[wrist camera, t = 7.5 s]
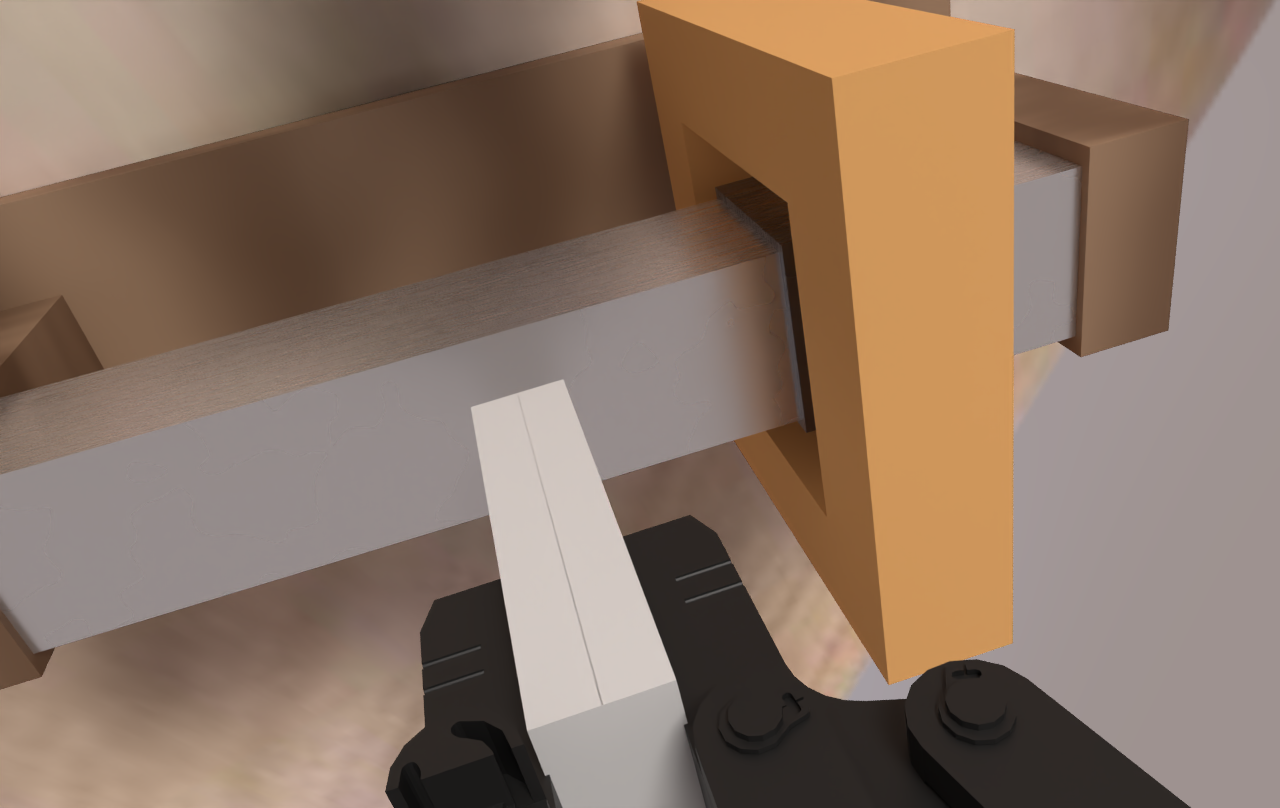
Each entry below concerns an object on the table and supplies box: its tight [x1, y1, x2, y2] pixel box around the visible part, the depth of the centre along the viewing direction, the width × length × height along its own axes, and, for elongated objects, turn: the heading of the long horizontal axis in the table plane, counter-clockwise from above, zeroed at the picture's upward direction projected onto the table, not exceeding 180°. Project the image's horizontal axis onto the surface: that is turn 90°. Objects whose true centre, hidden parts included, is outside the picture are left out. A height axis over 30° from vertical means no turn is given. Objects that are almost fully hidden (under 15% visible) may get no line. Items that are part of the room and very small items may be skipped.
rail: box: [0, 140, 1082, 654], centre depth 19 cm, size 22×4×4 cm, turn 102°
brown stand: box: [0, 0, 1189, 689], centre depth 21 cm, size 25×9×10 cm, turn 102°
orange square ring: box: [637, 0, 1014, 685], centre depth 19 cm, size 2×11×11 cm, turn 12°
